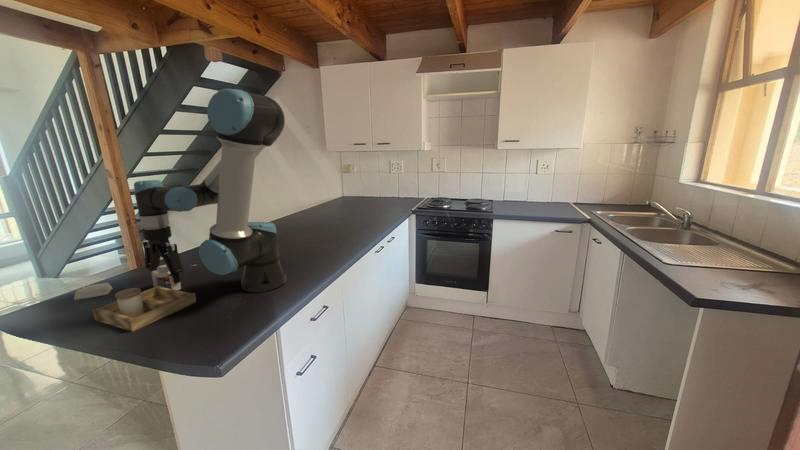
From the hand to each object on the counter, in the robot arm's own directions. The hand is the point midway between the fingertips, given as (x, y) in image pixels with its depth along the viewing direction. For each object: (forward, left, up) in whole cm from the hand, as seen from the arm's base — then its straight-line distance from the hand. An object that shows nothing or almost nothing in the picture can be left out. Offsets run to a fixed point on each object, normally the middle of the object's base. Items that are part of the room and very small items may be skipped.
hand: (168, 289), depth 111 cm
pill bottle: (0, 0, -1) cm, 1 cm away
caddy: (-11, +13, 0) cm, 17 cm away
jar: (-11, +17, +1) cm, 20 cm away
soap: (+22, +11, -1) cm, 24 cm away
